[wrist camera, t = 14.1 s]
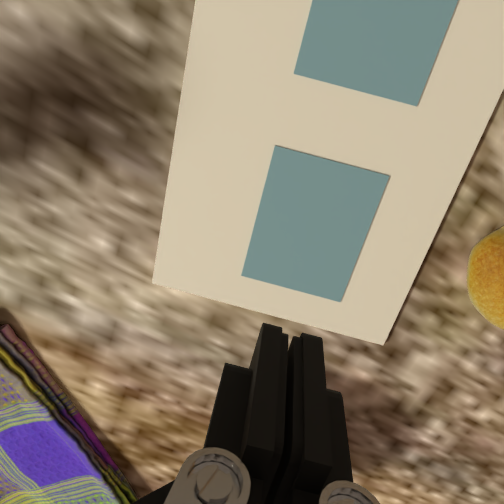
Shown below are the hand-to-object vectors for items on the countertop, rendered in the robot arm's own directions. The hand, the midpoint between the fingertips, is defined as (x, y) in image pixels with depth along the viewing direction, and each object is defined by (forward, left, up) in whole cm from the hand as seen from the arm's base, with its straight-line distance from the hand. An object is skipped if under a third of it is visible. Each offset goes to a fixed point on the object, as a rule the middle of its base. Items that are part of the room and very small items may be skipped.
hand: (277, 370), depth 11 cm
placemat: (-5, +1, -16) cm, 17 cm away
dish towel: (+29, -19, -17) cm, 39 cm away
